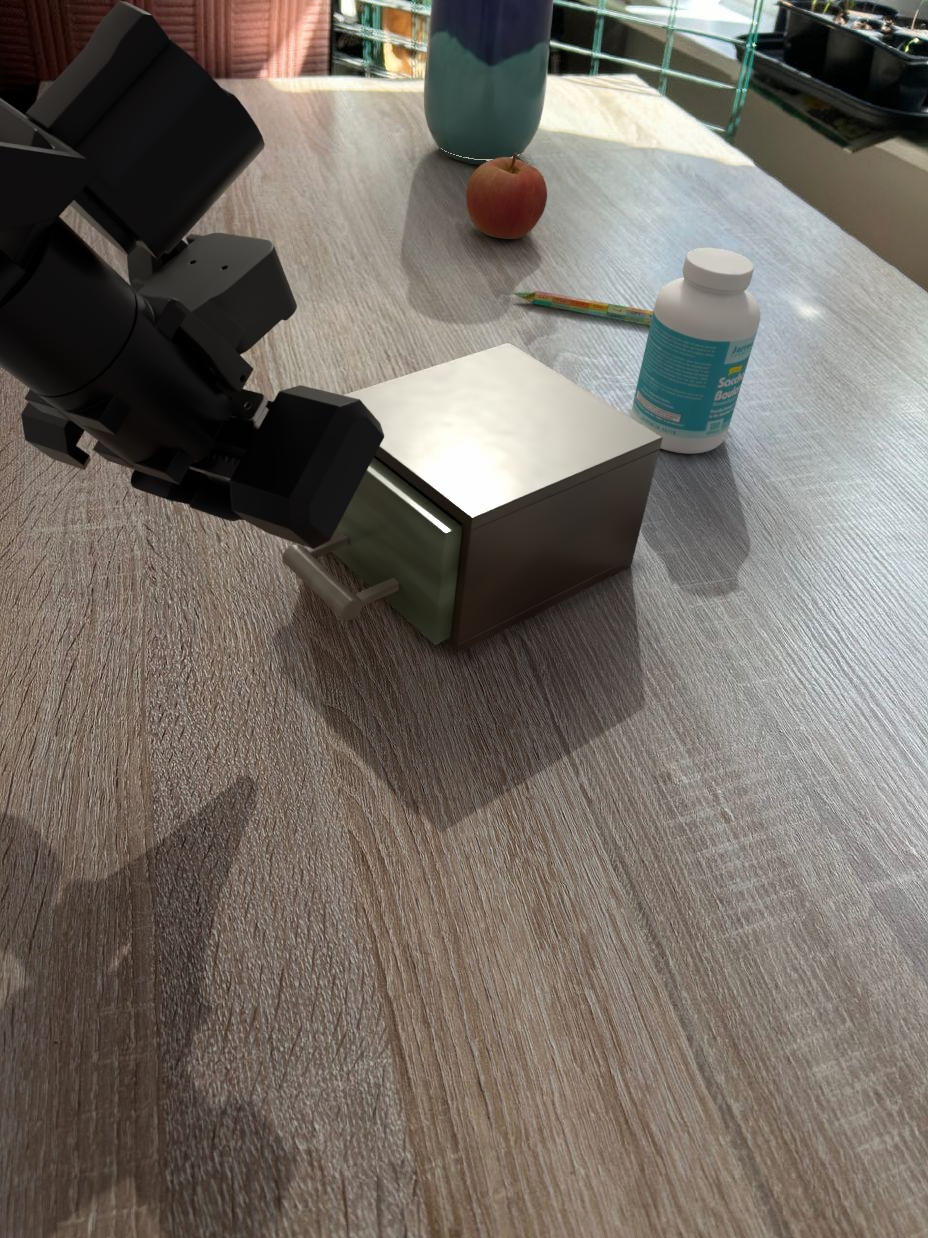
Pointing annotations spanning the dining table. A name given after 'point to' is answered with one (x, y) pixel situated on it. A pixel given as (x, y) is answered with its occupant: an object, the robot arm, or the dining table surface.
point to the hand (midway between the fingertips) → (288, 515)
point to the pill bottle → (697, 351)
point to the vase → (486, 75)
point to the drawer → (390, 554)
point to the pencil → (587, 306)
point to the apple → (506, 197)
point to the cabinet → (518, 479)
